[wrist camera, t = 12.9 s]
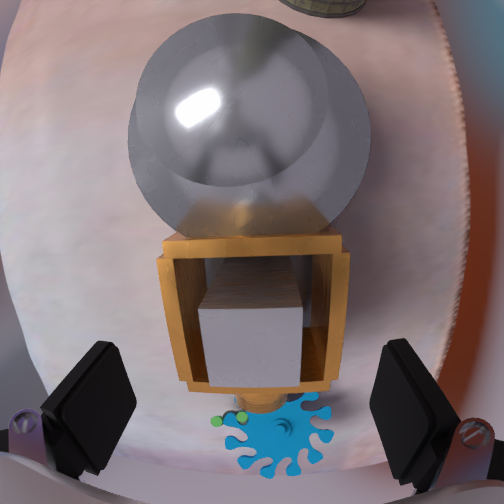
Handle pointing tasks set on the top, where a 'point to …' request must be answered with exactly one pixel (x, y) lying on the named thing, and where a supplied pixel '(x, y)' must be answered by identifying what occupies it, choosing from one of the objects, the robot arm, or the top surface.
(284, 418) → the blue splat shape
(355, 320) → the top surface
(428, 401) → the robot arm
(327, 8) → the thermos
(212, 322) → the tall grey block
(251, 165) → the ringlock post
